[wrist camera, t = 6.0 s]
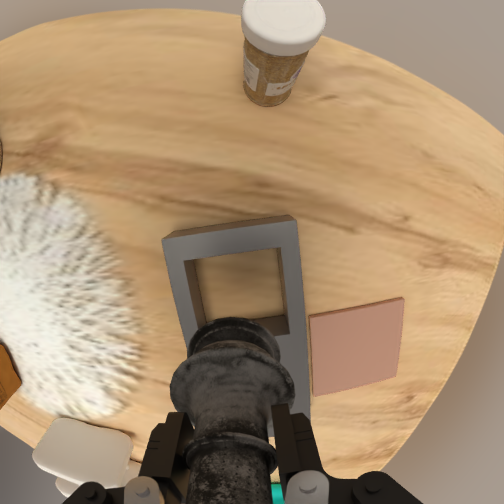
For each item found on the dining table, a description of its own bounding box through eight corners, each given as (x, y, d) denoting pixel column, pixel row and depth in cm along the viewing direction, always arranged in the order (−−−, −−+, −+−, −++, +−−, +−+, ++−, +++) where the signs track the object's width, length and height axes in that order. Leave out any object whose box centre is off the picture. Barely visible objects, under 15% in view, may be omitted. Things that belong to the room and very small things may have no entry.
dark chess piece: (269, 298, 15) (323, 531, 3) (295, 382, 16) (342, 565, 5) (165, 327, 15) (79, 527, 3) (204, 403, 16) (183, 578, 5)
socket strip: (172, 231, 27) (160, 240, 23) (289, 214, 27) (296, 220, 23) (218, 419, 32) (216, 442, 28) (305, 408, 32) (311, 431, 28)
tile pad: (308, 315, 29) (309, 318, 29) (402, 297, 29) (404, 299, 29) (312, 393, 32) (313, 396, 31) (394, 374, 32) (395, 376, 31)
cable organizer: (140, 431, 33) (118, 492, 22) (154, 469, 36) (140, 522, 24) (58, 411, 33) (27, 458, 22) (78, 451, 35) (56, 494, 24)
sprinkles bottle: (286, 112, 25) (322, 52, 12) (238, 102, 24) (232, 33, 11) (294, 70, 24) (331, -6, 11) (248, 61, 23) (251, -24, 10)
